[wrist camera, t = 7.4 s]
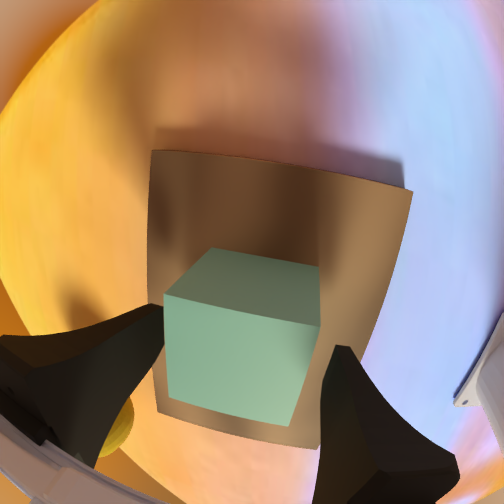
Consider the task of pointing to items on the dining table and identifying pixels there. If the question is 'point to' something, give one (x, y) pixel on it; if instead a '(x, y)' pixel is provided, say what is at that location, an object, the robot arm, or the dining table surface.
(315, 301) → the block
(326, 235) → the board
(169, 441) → the dining table surface
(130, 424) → the lemon
